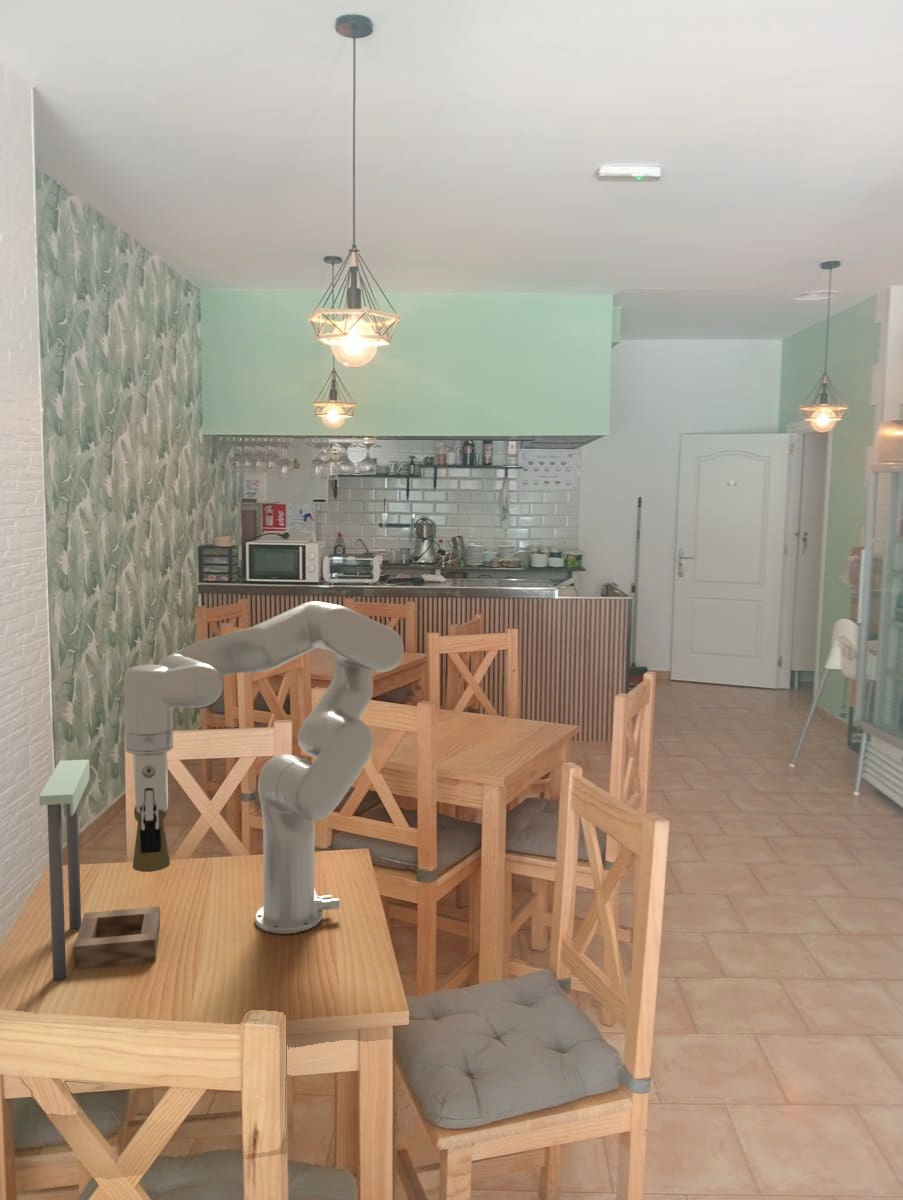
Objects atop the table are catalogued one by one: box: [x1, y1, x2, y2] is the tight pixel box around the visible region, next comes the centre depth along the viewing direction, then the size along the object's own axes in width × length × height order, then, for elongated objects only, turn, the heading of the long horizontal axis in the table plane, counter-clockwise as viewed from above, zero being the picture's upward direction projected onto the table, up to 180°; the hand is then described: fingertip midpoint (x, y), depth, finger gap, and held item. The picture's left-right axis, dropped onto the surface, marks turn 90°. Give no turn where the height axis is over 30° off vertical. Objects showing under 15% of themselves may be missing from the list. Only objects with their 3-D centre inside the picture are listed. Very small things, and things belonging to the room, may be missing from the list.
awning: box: [39, 759, 91, 982], centre depth 164 cm, size 5×20×32 cm, turn 14°
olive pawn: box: [132, 805, 171, 873], centre depth 159 cm, size 6×6×11 cm
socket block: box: [73, 906, 161, 970], centre depth 167 cm, size 13×13×4 cm
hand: (151, 845), depth 159 cm, fingers closed on olive pawn, 4 cm apart
